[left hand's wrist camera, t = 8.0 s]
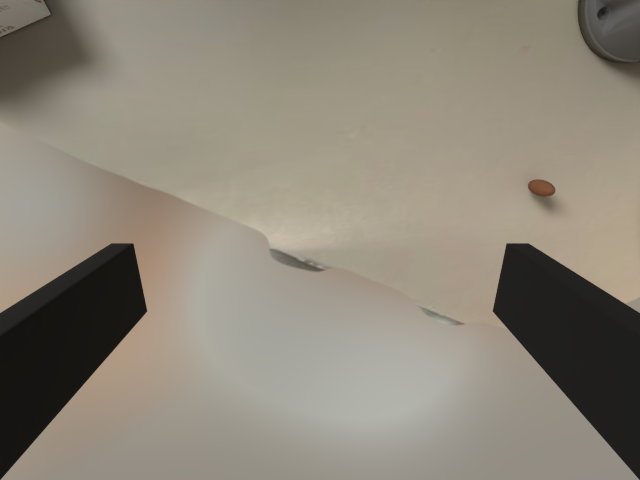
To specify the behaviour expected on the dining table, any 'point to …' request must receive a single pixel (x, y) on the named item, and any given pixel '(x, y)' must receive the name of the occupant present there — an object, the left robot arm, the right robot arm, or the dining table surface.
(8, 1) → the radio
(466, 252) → the dining table surface
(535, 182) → the brown ellipsoid
